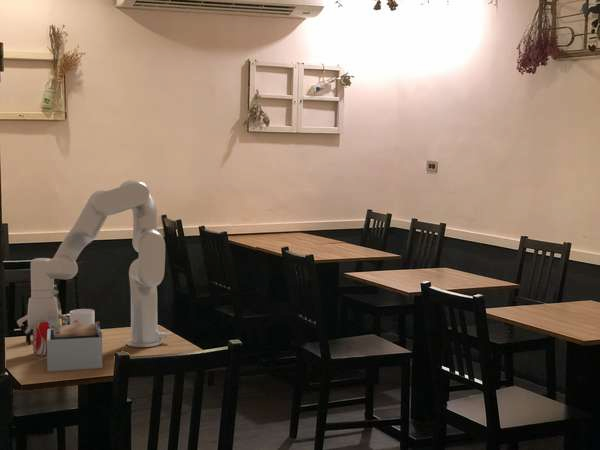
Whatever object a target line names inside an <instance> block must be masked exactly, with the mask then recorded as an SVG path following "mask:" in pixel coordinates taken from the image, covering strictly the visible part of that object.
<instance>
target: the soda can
mask: <svg viewBox="0 0 600 450" xmlns="http://www.w3.org/2000/svg"><path fill="white" fill-rule="evenodd" d="M48 329H54V326H52V325H51V324H50V323H48V321H38V323H37V324H36V325H35V327H34V328H32V351H33V353H34V354H35V355H36V356H40V357H42V356H47V331H48Z"/></svg>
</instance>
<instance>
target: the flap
mask: <svg viewBox="0 0 600 450" xmlns="http://www.w3.org/2000/svg"><path fill="white" fill-rule="evenodd" d="M89 335H96V330H95V325H94V323H92V324H72V325H70V324H67V325H54V337H71V336H89Z"/></svg>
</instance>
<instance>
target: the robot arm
mask: <svg viewBox="0 0 600 450" xmlns="http://www.w3.org/2000/svg"><path fill="white" fill-rule="evenodd" d="M130 209H131V211H132V217H133V219H132V220H133V221H132V222H133V225H132V247H133V249H134V250H135V252H137V253H138V257H137V258H136V259H135V260H133V261H132V262H131V264H130V266H129V269H128V278H129V279H128V280H129V286H130V287H129V288H130V289H129V290H130V339H127V340H126V345H127V346H128V347H132V348H133V347H134V348H152V347H156V346H160V345H161V344H162V343H163V340H162V339H171V335H172V334H171V332H166V331H165V332H163V331H162V332H160V331H159V329H158V288H157V286H159V285H160V284H161V283H162V281H163V280H164V277H165V268H166V266H165V264H166V241H165V238H164V237H163V235H162V234H161V232H158V213H157V212H158V211H157V206H156V203H155V201H154V198H153V197H152V195H151V193H150V189H149V187H148V186H147V184H146V183H144V182H142V181H139V180H126V181H124V182H122V184H120V186H119V187H116V188H113V189H109V190H96V191H95V192H93V193H92V194H91V195H90V197H89V198H88V200H87V202H86V204H85V205H84V208H83V209H82V211H81V213H79V214H80V215H79V216H78V218H77V220H76V222H75V223H74V225H73V227H71V229H70V230H69V232H68V233H67V235H66V237H65V238H64V239H63V241H62V242H61V244H60V245H59V246H58V249H57V251H56V253H54V256H53V257H52V258H49V257H38V258H37V257H36V258H34V259H32V260H31V261H30V291H31V292H30V295H31V296H30V297H29V298H28V304H27V314H26V315H25V316H23V317H21V318H20V319H18V320H16V323H17V325H18V327H19V328H20V330H21V331H23V333H25V343H27V346H30V345H31V341H32V340H31V339H32V336H31V330H33V328H34V327H35V325H36V324H37V323H38V321H48V323H50V324H51V325H52V326H54V325H59V324H58V321H59V318H60V319H62V325H68V323H69V322H70V317H68V316H63V315H64V314H62V313H61V314H59V313H58V303H57V298H58V297H57V298H56V297H54V295H56V294H57V295H58V294H59V290H55V289H54V285H55V280H56V279H57V280H70V279H73V278H74V277H75V276H76V275H77V273H78V271H79V266H78V263H77V262H76V261H77V259H78V257H79V255H80V254H81V253H82V251H83V250H84V249H85V247H87V245H89V244H90V243H92V242H93V241H94V240H95V239H96V238H97V236H98V234H99V233H100V230H101V229H102V227H103V225H104V224H105V221H106V220H107V218H108V216H112V215H116V214H119V213H122V212H125V211H127V210H130ZM63 320H64V322H63ZM26 321H27V327H26V326H25V325H24V324H23V323H24V322H26Z"/></svg>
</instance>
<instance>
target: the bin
mask: <svg viewBox="0 0 600 450" xmlns="http://www.w3.org/2000/svg"><path fill="white" fill-rule="evenodd" d="M100 324H101V323H100V321H96V322H95V330H96V335H89V336H71V337H54V329H48V331H47V355H46V358H47V359H46V362H47V363H46V364H47V367H46V368H47V370H46V371H47V373H48V372H62V371H75V370H93V369H103V368H104V367H103V332H102V331H101V327H100V326H101V325H100Z"/></svg>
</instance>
